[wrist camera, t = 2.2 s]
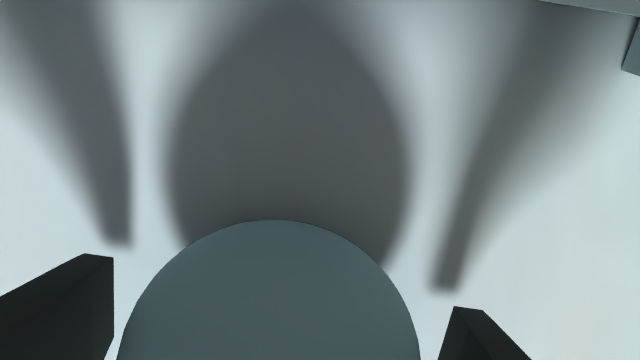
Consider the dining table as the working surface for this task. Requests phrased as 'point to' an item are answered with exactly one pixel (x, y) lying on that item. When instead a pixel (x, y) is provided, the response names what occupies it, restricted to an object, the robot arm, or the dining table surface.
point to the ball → (270, 301)
